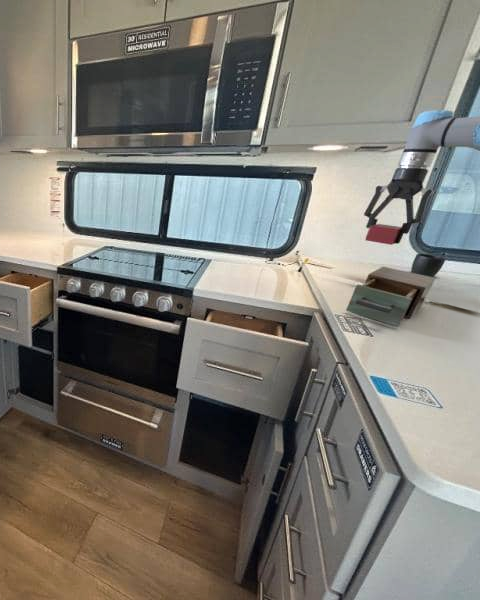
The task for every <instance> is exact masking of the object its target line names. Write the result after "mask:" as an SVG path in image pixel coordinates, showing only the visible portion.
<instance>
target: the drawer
mask: <svg viewBox="0 0 480 600" xmlns="http://www.w3.org/2000/svg"><path fill="white" fill-rule="evenodd" d="M418 290H419V289H417V288H413V287H409V286H405V285H401V284H396V283H392V282H388V281H384V280H380V279H376V278H373V279H372V280H370V281H368V282H366V283H365V282H364V283H363V284H356V285H355V287H354V290H353V293H352V295H351V297H350V300H349V302H348V304H347V307H346V309H345V311H346V312H349V313H352V314H355V315H359V316H362V317H365V318H368V319H372V320H375V321H378V322H381V323H384V324H388V325H390V326H394V327H397V328H399V326H400V324H401V322H402V320H403V318H404V317H403V316H404V315H405V314H406V313H407V312H408V309H409V308H410V306H411V304H412V302H413V300H414V298H415V296H416V294H417V292H418Z"/></svg>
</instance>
